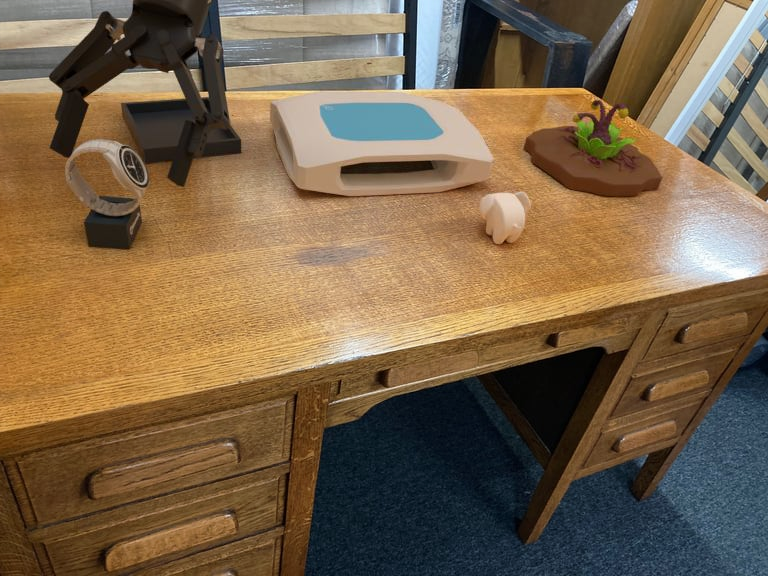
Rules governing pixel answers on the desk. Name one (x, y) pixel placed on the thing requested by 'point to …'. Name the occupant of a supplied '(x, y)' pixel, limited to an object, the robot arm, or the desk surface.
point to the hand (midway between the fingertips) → (117, 168)
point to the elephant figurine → (505, 215)
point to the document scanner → (376, 142)
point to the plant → (593, 156)
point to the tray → (171, 129)
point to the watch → (111, 214)
